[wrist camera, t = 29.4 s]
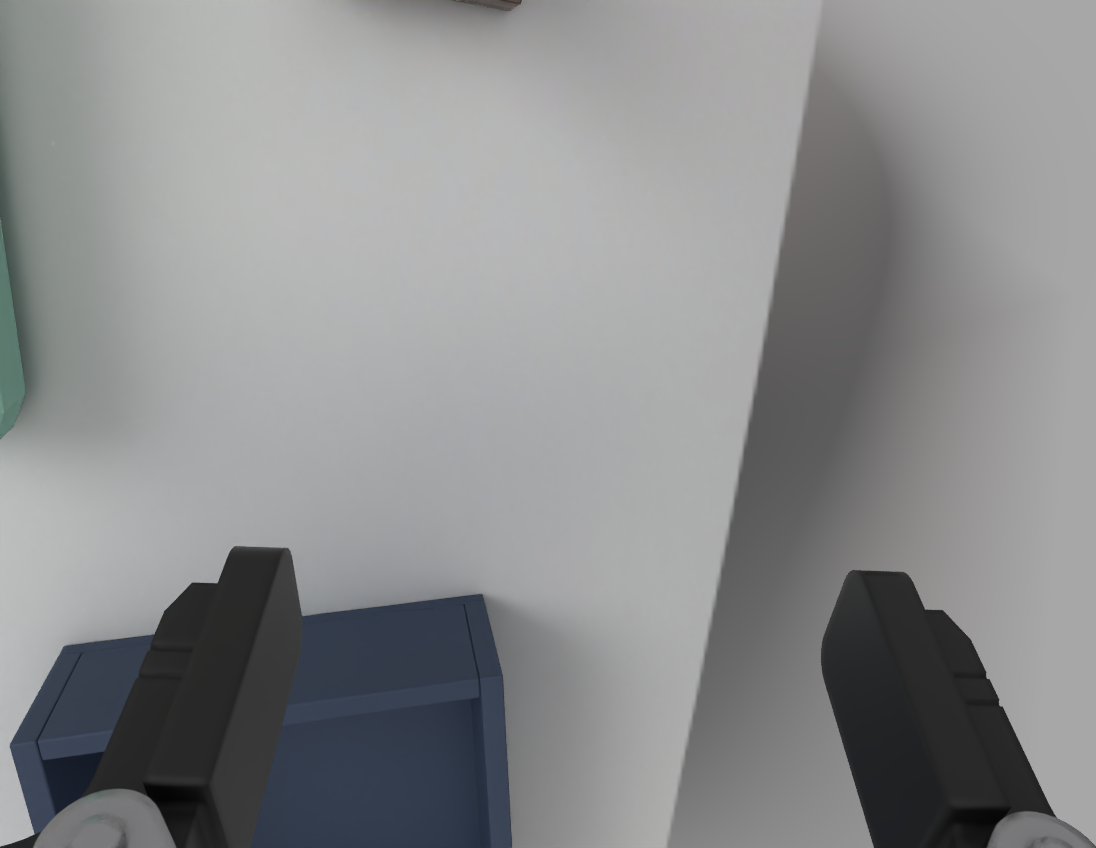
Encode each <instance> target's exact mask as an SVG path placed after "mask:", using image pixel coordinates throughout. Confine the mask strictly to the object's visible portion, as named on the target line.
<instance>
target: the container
mask: <svg viewBox="0 0 1096 848" xmlns="http://www.w3.org/2000/svg"><path fill="white" fill-rule="evenodd" d="M25 393H26V390H25V383H24V376H23V370H22V363H21V356H20V349H19V342H18V335H17V328H16V322H15V315H14V308H13V301H12V294H11V287H10V280H9V273H8V267H7V260H6V253H5V246H4V239H3V232H2V225H1V219H0V439H1V438H2V437H3V436H4V435H5V434H6V433H7V432H8V431H9V430H10V429H11V428H12V427H13V426H14V423H15V420H16V418H17V415H18V412H19V410H20V407H21V404H22V402H23V399H24V396H25Z"/></svg>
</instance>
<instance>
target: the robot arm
mask: <svg viewBox="0 0 1096 848" xmlns="http://www.w3.org/2000/svg"><path fill="white" fill-rule="evenodd" d="M301 644H302V615H301V609H300V603H299V597H298V591H297V585H296V579H295V572H294V566H293V560H292V555H291V552H290V550H289V549H288V548H271V547H243V546H235V547H233V548H232V550H231V551H230V553H229V555H228V557H227V560H226V563H225V565H224V568H223V571H222V573H221V576H220V578H219V581H218V584H217V583H191V584H190V585H189V586H188V588H187V589H186V590H185V591H184V592H183V593H182V594H181V595H180V596H179V597H178V598H177V599H176V600H175V601H174V602H173V603H172V604H171V605H170V606H169V607H168V608H167V609H166V610H165V611H164V614H163V616H162V618H161V621H160V623H159V625H158V628H157V630H156V632H155V635H154V637H153V639H152V642H151V644H150V645H151V648H150V651H147V653H146V656H145V658H144V660H143V663H142V665H141V667H140V670H139V677H138V678H136V679H135V681H134V684H133V686H132V688H131V691H130V693H129V695H128V698H127V700H126V702H125V705H124V707H123V709H122V712H121V714H120V716H119V719H118V721H117V723H116V726H115V728H114V730H113V733H112V735H111V737H110V740H109V742H108V744H107V747H106V749H105V751H104V754H103V756H102V759H101V761H100V763H99V766H98V768H97V770H96V773H95V775H94V777H93V779H92V781H91V783H90V785H89V787H88V788H87V790H86V791H85V793H84V794H83V796H82V797H81V798H80V799H79V800H77V801H75V802H74V803H72V804H70V805H69V806H67V807H66V808H65V809H63V810H62V811H61V812H59V813H58V814H57V815H56V816H55V817H54V818H53V819H52V820H51V821H50V822H49V823H48V824H47V826H46V827H45V828H44V829H43V830H42V831H40V832H39V833H37V834H35V835H32V836H30V837H28V838H26V839H23V840H20V841H18V842H15V843H12V844H8V845H4V846H1V847H0V848H250V847H251V843H252V839H253V835H254V831H255V827H256V824H257V820H258V816H259V812H260V808H261V804H262V801H263V797H264V793H265V789H266V785H267V781H268V778H269V774H270V770H271V766H272V762H273V758H274V754H275V751H276V747H277V743H278V739H279V735H280V731H281V728H282V724H283V720H284V716H285V712H286V708H287V705H288V701H289V697H290V693H291V689H292V685H293V682H294V678H295V674H296V670H297V666H298V662H299V658H300V652H301ZM821 665H822V673H823V678H824V682H825V685H826V689H827V692H828V695H829V698H830V702H831V705H832V709H833V712H834V715H835V718H836V722H837V725H838V728H839V732H840V735H841V739H842V742H843V745H844V749H845V752H846V755H847V759H848V762H849V765H850V769H851V772H852V776H853V779H854V782H855V786H856V789H857V792H858V796H859V799H860V802H861V806H862V808H863V812H864V815H865V819H866V822H867V825H868V829H869V832H870V836H871V839H872V842H873V846H874V848H1096V846H1095V845H1094V844H1093V843H1092V842H1091V841H1090V840H1089V839H1088V838H1087V837H1086V836H1084V835H1083V834H1082V833H1081V832H1079V831H1078V830H1077V829H1075V828H1074V827H1072V826H1071V825H1069V824H1067V823H1066V822H1064V821H1061V820H1060V819H1058V818H1057V817H1056V816H1055V814H1054V813H1053V811H1052V809H1051V807H1050V805H1049V804H1048V801H1047V799H1046V797H1045V795H1044V793H1043V791H1042V789H1041V787H1040V785H1039V783H1038V780H1037V778H1036V776H1035V774H1034V772H1033V770H1032V768H1031V766H1030V764H1029V761H1028V759H1027V757H1026V755H1025V753H1024V751H1023V749H1022V747H1021V745H1020V742H1019V740H1018V738H1017V736H1016V734H1015V732H1014V730H1013V728H1012V726H1011V723H1010V722H1009V719H1008V717H1007V715H1006V713H1005V711H1004V709H1003V707H1000V706H999V698H998V696H997V694H996V692H995V690H994V688H993V686H992V683H991V681H990V680H989V679H987V678H986V671H985V669H984V667H983V664H982V662H981V661H980V658H979V656H978V654H977V652H976V650H975V648H974V646H973V644H972V641H971V640H970V638H969V637H968V636H967V635H966V634H965V633H964V632H963V631H962V630H961V629H960V628H959V627H958V626H957V625H956V624H955V623H954V622H953V621H952V619H951V618H950V617H949V616H948V615H947V614H946V613H945V612H944V611H943V610H925V609H924V606H923V604H922V602H921V599H920V597H919V595H918V592H917V591H916V588H915V586H914V583H913V582H912V580H911V578H910V577H909V576H908V575H907V574H906V573H904V572H889V571H888V572H887V571H861V570H858V571H857V570H852V571H850V572H849V573H848V575H847V576H846V579H845V581H844V583H843V586H842V589H841V591H840V594H839V597H838V599H837V602H836V605H835V607H834V610H833V613H832V615H831V618H830V621H829V623H828V626H827V629H826V631H825V634H824V637H823V641H822V648H821Z"/></svg>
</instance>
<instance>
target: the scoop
mask: <svg viewBox="0 0 1096 848" xmlns="http://www.w3.org/2000/svg"><path fill="white" fill-rule="evenodd" d="M453 1H458V2H464V3H469V4H475V5H480V6H486V7H491V8H497V9H502V10H508V11H510V10H512V9H514V8H515V7H517V6H518V5H520V4H521V2H522V0H453Z"/></svg>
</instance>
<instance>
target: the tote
mask: <svg viewBox="0 0 1096 848" xmlns="http://www.w3.org/2000/svg"><path fill="white" fill-rule="evenodd" d="M153 637H154V635H150V636H142V637H134V638H126V639H118V640H110V641H102V642H94V643H86V644H78V645H70V646H65V647H63V649H62V651H61V653H60V656H58V658H57V660H56V662H55V664H54V666H53V667H52V669H51V671H50V673H49V675H48V676H47V678H46V680H45V682H44V684H43V685H42V687H41V689H40V691H39V693H38V695H37V696H36V698H35V700H34V702H33V704H32V705H31V707H30V709H29V711H28V713H27V714H26V716H25V718H24V720H23V722H22V724H21V725H20V727H19V729H18V731H17V733H16V734H15V736H14V738H13V740H12V742H11V743H10V749H11V752H12V756H13V759H14V763H15V766H16V770H17V773H18V777H19V780H20V784H21V788H22V791H23V795H24V798H25V802H26V805H27V809H28V812H29V816H30V819H31V823H32V826H33V830H34V833H35V834H37V833H39V832H40V831H42V830H43V829H44V828H45V827H46V826H47V824H48V823H49V822H50V821H51V820H52V819H53V818H54V817H55V816H56V815H57V814H58V813H59V812H61V811H62V810H63V809H65V808H66V807H67V806H69V805H70V804H72V803H74V802H75V801H77V800H79V799H80V798H81V797H82V796H83V794H84V793H85V791H86V790H87V788H88V787H89V785H90V783H91V781H92V779H93V777H94V775H95V773H96V770H97V768H98V766H99V763H100V761H101V759H102V756H103V754H104V751H105V749H106V747H107V744H108V742H109V740H110V737H111V735H112V733H113V730H114V728H115V726H116V723H117V721H118V719H119V716H120V714H121V712H122V709H123V707H124V705H125V702H126V700H127V698H128V695H129V693H130V691H131V688H132V686H133V684H134V681H135V679H136V678H138V677H139V670H140V667H141V665H142V663H143V660H144V658H145V656H146V653H147V651H150V648H151V645H150V644H151V642H152V639H153ZM250 848H512V836H511V818H510V799H509V781H508V762H507V744H506V725H505V707H504V688H503V675H502V671H501V667H500V663H499V659H498V655H497V650H496V646H495V642H494V638H493V634H492V630H491V626H490V622H489V618H488V614H487V610H486V606H485V603H484V598H483V595H482V594H480V595H472V596H463V597H455V598H447V599H439V600H431V601H423V602H415V603H407V604H399V605H391V606H383V607H375V608H367V609H359V610H351V611H343V612H335V613H327V614H319V615H311V616H303V617H302V644H301V652H300V658H299V662H298V666H297V670H296V674H295V678H294V682H293V685H292V689H291V693H290V697H289V701H288V705H287V708H286V712H285V716H284V720H283V724H282V728H281V731H280V735H279V739H278V743H277V747H276V751H275V754H274V758H273V762H272V766H271V770H270V774H269V778H268V781H267V785H266V789H265V793H264V797H263V801H262V804H261V808H260V812H259V816H258V820H257V824H256V827H255V831H254V835H253V839H252V843H251V847H250Z"/></svg>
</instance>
